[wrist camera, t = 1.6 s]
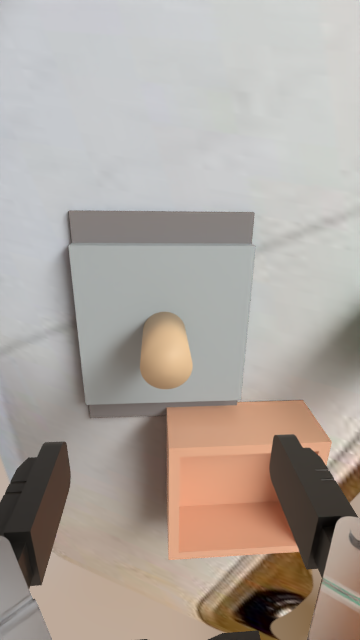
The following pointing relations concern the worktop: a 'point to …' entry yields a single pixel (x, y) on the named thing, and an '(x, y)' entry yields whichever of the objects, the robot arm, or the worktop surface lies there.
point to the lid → (162, 320)
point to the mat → (158, 231)
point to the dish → (231, 477)
